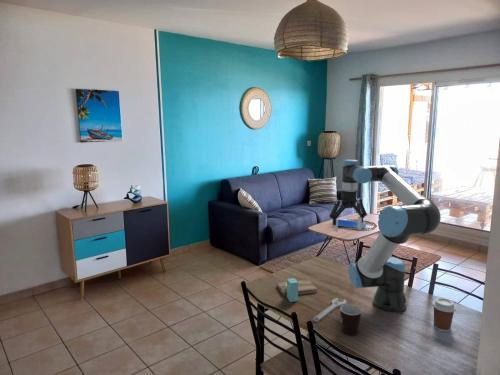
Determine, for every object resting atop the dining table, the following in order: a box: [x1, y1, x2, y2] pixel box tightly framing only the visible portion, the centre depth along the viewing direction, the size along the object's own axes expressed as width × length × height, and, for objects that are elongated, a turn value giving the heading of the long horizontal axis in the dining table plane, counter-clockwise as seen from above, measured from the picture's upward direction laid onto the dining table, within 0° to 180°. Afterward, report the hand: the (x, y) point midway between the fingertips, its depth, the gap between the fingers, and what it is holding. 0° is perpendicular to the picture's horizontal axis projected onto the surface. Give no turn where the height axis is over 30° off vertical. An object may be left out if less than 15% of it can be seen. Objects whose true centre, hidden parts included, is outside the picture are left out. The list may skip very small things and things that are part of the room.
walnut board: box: [276, 278, 318, 297], centre depth 193 cm, size 12×18×2 cm, turn 104°
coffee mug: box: [339, 304, 363, 337], centre depth 155 cm, size 12×9×10 cm
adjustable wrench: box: [312, 297, 347, 323], centre depth 172 cm, size 25×6×2 cm, turn 133°
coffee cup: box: [431, 297, 457, 332], centre depth 156 cm, size 9×9×12 cm
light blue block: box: [285, 277, 299, 303], centre depth 184 cm, size 11×4×10 cm, turn 15°
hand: (347, 230), depth 189 cm, fingers open, 13 cm apart
